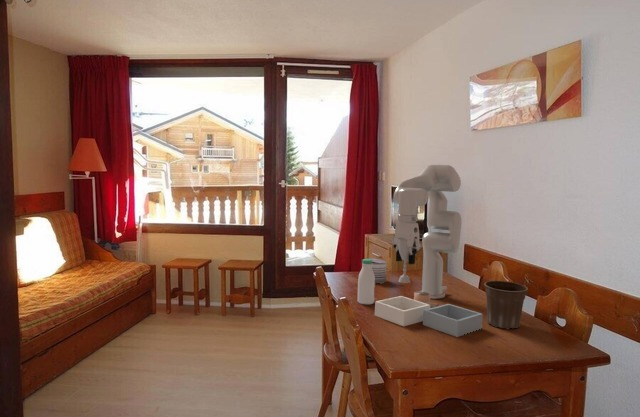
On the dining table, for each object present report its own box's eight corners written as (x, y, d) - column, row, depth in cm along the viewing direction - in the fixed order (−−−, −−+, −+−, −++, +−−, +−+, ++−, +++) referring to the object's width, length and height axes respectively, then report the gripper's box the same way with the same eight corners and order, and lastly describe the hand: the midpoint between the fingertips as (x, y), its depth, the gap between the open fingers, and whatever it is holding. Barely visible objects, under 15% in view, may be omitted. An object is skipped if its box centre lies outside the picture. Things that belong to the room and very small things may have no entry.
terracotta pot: (420, 305, 205) (421, 290, 205) (432, 309, 200) (433, 294, 199) (410, 308, 201) (410, 292, 201) (422, 312, 196) (423, 296, 195)
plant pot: (526, 334, 172) (529, 292, 171) (481, 328, 178) (484, 287, 176) (523, 321, 188) (526, 283, 186) (482, 316, 193) (484, 279, 192)
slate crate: (447, 317, 190) (448, 303, 189) (481, 328, 177) (482, 313, 176) (422, 324, 180) (423, 310, 179) (457, 337, 167) (457, 321, 167)
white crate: (400, 309, 200) (401, 295, 199) (429, 319, 187) (430, 304, 186) (374, 315, 190) (375, 301, 189) (403, 326, 177) (404, 311, 177)
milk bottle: (373, 305, 204) (375, 261, 202) (356, 304, 206) (357, 260, 204) (374, 300, 212) (376, 258, 210) (358, 299, 213) (359, 257, 211)
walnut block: (426, 313, 195) (426, 301, 195) (437, 315, 193) (438, 303, 192) (422, 316, 191) (423, 304, 191) (434, 318, 188) (434, 306, 188)
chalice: (394, 279, 191) (395, 236, 189) (410, 279, 191) (411, 237, 189) (398, 283, 183) (400, 239, 182) (415, 283, 184) (416, 239, 182)
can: (365, 278, 256) (366, 257, 255) (385, 279, 255) (386, 258, 254) (364, 283, 245) (365, 261, 244) (386, 284, 244) (386, 262, 243)
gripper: (429, 220, 180) (427, 265, 182) (397, 216, 194) (396, 258, 196) (417, 221, 176) (415, 267, 177) (385, 217, 189) (383, 259, 191)
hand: (405, 262), depth 186 cm, fingers closed on chalice, 6 cm apart
